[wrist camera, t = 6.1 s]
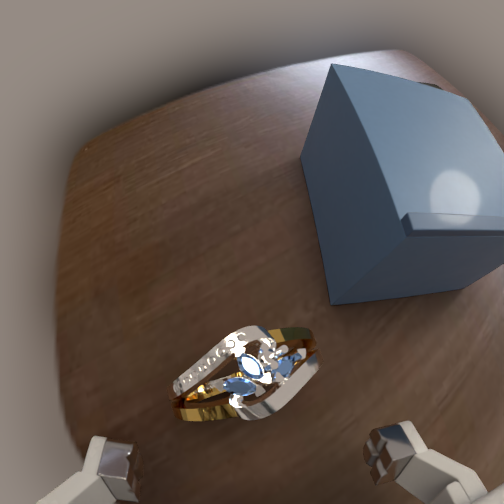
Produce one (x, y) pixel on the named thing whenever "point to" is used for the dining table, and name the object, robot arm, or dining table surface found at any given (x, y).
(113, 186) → the dining table surface
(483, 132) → the blue box
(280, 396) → the ring
